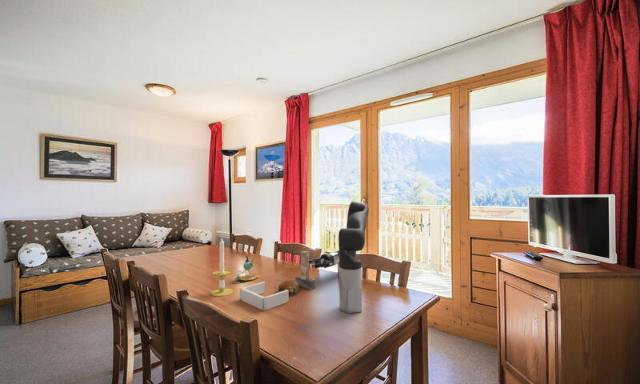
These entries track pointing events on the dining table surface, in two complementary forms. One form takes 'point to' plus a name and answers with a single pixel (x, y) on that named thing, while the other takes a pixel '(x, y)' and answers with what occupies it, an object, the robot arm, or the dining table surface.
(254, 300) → the box
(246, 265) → the frog figurine
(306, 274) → the scraper
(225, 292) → the candle
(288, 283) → the bread roll
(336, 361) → the dining table surface
